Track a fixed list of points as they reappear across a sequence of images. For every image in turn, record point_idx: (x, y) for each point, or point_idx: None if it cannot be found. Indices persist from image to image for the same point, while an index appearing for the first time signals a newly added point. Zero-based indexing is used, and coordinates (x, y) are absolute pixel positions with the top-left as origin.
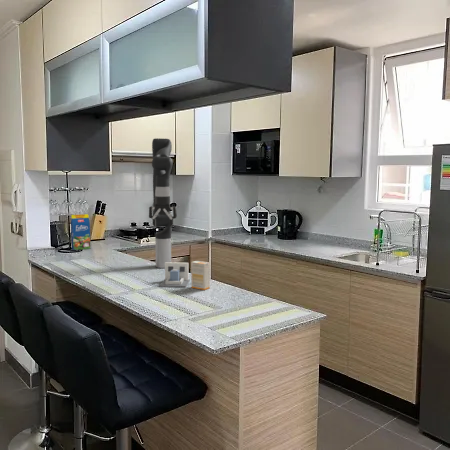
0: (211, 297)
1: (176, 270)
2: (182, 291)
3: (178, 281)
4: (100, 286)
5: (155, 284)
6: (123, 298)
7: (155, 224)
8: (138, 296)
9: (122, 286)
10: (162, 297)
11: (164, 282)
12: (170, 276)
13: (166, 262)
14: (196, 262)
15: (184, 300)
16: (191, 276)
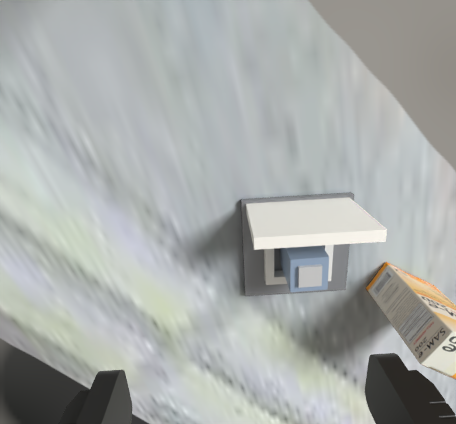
0: (430, 371)
1: (319, 284)
2: (336, 330)
3: None
4: (28, 320)
5: (219, 264)
6: (174, 414)
7: (121, 419)
8: (209, 393)
9: (107, 308)
10: (283, 391)
11: (254, 257)
12: (286, 278)
13: (261, 244)
14: (447, 369)
15: (351, 404)
16: (386, 316)
